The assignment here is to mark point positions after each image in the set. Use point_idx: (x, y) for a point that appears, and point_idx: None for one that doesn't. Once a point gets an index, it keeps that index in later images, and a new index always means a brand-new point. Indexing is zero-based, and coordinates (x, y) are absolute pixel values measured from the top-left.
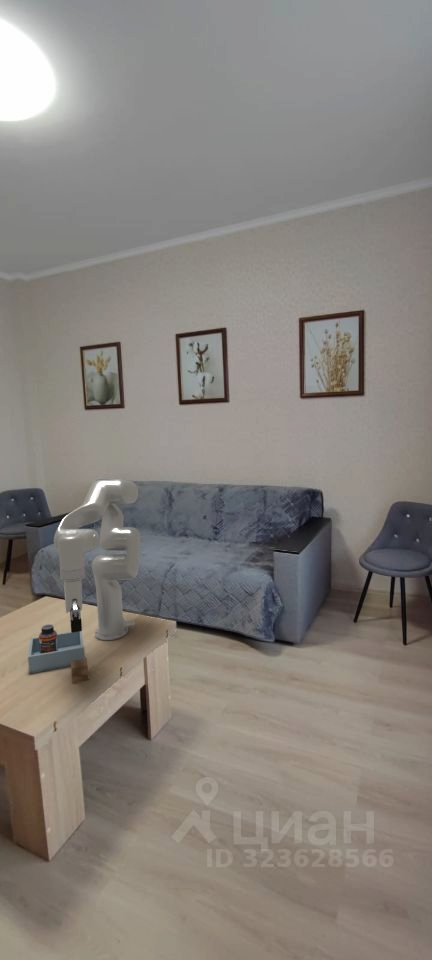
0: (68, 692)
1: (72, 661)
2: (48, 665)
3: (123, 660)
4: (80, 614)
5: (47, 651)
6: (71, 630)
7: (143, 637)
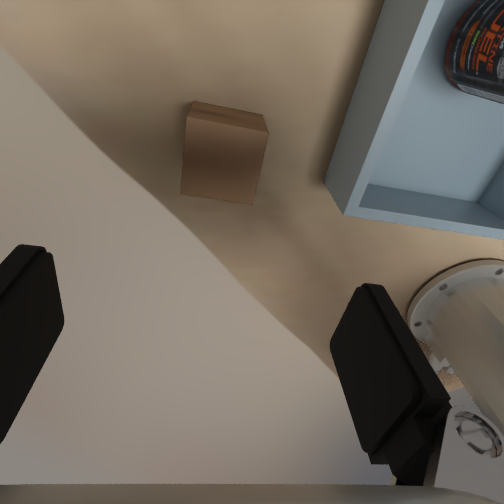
0: (118, 66)
1: (258, 138)
2: (390, 14)
3: (258, 292)
4: (343, 384)
5: (487, 27)
6: (9, 258)
7: None
